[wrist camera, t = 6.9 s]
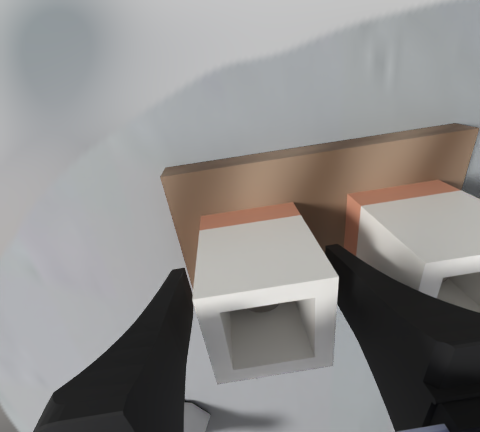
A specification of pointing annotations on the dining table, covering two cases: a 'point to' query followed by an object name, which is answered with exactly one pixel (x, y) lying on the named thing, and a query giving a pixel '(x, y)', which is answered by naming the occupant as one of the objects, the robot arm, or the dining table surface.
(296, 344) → the sleeve
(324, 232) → the pin board
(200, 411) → the flask
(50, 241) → the dining table surface
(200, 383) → the dining table surface
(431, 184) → the seated sleeve
